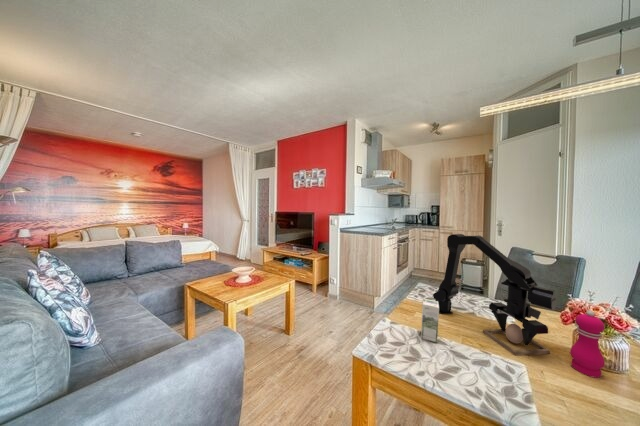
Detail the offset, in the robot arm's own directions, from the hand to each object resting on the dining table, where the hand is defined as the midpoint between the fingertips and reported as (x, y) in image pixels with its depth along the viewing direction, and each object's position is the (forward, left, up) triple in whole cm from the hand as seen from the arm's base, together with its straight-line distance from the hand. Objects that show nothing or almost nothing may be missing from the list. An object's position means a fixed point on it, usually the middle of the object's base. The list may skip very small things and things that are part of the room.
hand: (514, 337), depth 87 cm
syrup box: (-32, +5, -2) cm, 32 cm away
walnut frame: (0, 0, -2) cm, 2 cm away
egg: (0, 0, -2) cm, 2 cm away
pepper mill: (+10, -15, -2) cm, 18 cm away
